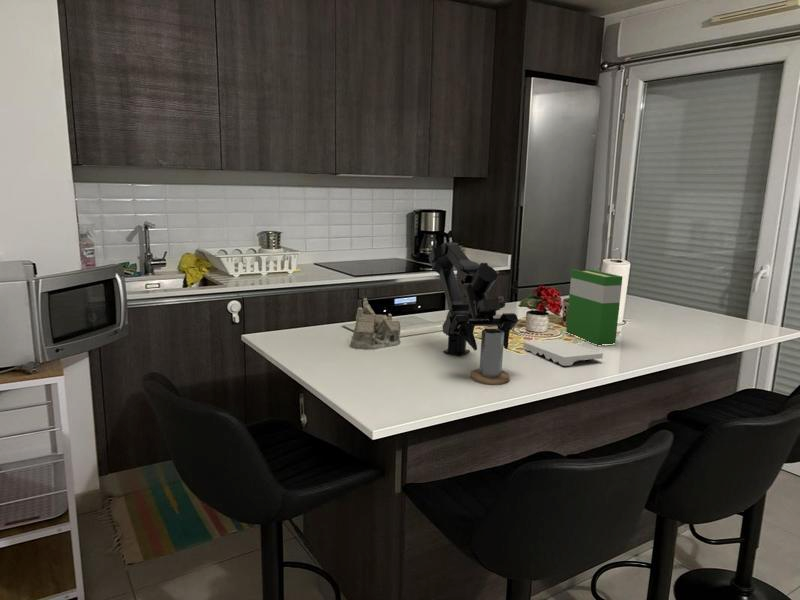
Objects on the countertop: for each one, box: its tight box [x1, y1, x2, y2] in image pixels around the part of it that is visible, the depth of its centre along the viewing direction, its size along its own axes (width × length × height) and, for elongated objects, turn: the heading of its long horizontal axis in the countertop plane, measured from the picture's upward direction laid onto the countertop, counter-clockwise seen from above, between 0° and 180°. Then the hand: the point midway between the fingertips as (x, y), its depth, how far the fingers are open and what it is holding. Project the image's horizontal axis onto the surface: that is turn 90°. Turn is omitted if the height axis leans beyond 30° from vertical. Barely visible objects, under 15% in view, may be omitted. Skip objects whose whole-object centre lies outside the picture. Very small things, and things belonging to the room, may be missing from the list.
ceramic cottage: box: [349, 297, 401, 351], centre depth 195 cm, size 16×16×15 cm
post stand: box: [469, 368, 511, 386], centre depth 164 cm, size 11×11×5 cm
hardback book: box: [565, 268, 623, 345], centre depth 209 cm, size 18×7×24 cm, turn 21°
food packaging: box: [522, 338, 604, 367], centre depth 188 cm, size 15×3×20 cm
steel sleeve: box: [479, 328, 504, 378], centre depth 163 cm, size 6×6×12 cm
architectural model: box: [482, 314, 499, 330], centre depth 211 cm, size 3×7×7 cm, turn 121°
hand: (491, 349), depth 163 cm, fingers open, 9 cm apart
